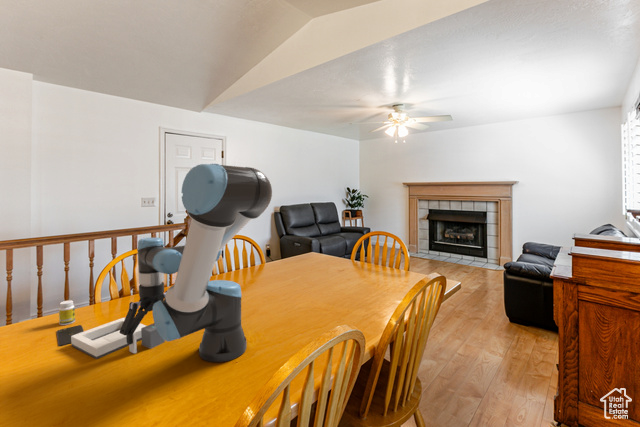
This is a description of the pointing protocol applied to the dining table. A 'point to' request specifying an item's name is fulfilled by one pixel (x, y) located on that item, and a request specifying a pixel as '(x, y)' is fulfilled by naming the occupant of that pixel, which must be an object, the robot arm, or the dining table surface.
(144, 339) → the charger brick
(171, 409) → the dining table surface
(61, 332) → the smartphone
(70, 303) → the supplement bottle
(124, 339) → the white slotted tray
